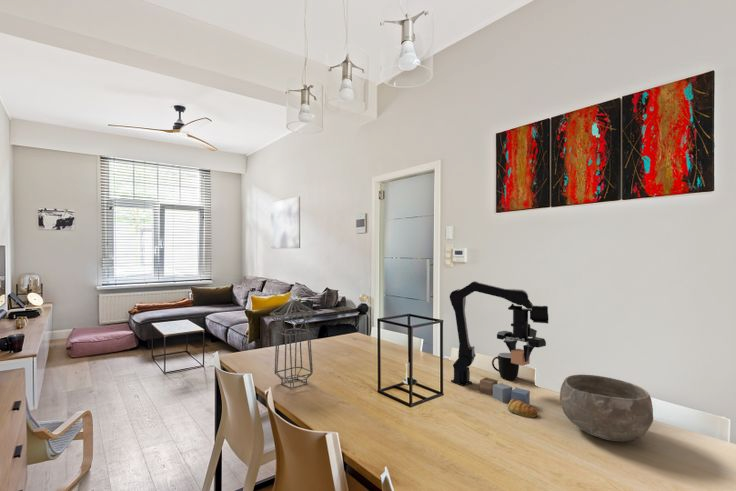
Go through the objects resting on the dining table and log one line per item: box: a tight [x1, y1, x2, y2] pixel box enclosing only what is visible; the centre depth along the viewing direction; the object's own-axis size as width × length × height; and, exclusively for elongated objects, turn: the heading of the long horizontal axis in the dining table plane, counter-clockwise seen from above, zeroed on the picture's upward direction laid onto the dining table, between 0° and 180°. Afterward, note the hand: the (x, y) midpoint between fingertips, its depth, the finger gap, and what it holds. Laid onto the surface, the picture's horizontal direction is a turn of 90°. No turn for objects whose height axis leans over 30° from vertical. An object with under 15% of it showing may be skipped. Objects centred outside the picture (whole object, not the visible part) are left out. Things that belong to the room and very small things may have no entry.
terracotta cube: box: [511, 348, 531, 367], centre depth 153 cm, size 5×5×5 cm
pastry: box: [507, 399, 539, 418], centre depth 132 cm, size 9×7×4 cm
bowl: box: [559, 374, 654, 442], centre depth 117 cm, size 24×24×15 cm
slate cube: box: [492, 382, 513, 403], centre depth 144 cm, size 5×5×5 cm
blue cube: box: [511, 387, 531, 406], centre depth 139 cm, size 5×5×5 cm
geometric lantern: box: [269, 299, 318, 389], centre depth 159 cm, size 16×16×35 cm
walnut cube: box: [479, 377, 499, 397], centre depth 151 cm, size 5×5×5 cm
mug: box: [491, 352, 520, 381], centre depth 170 cm, size 12×9×10 cm
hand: (520, 360), depth 153 cm, fingers closed on terracotta cube, 5 cm apart
